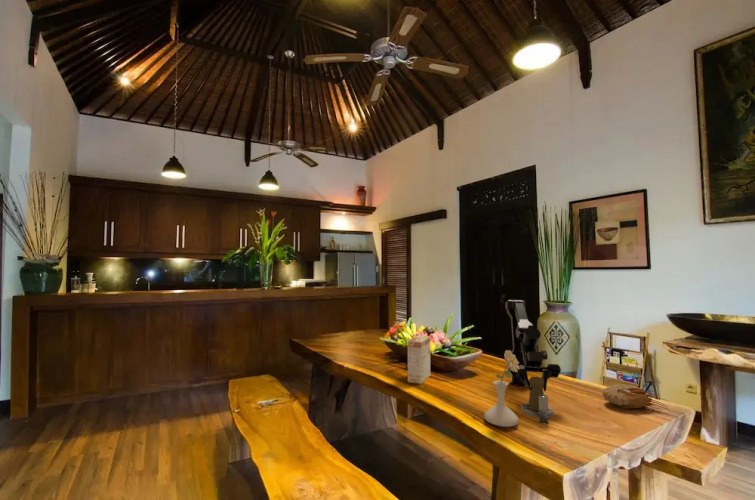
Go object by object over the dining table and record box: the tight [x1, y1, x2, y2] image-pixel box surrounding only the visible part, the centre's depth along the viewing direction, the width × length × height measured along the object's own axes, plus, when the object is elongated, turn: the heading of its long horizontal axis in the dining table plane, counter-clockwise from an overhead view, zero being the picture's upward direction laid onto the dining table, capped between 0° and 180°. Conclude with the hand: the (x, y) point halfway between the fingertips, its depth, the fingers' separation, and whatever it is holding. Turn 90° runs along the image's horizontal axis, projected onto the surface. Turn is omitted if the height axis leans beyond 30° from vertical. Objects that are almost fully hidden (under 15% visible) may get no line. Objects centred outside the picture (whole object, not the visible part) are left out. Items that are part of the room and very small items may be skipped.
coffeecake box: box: [407, 334, 431, 385], centre depth 176 cm, size 15×7×20 cm, turn 154°
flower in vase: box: [483, 349, 520, 428], centre depth 127 cm, size 13×11×25 cm
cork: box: [528, 376, 545, 411], centre depth 137 cm, size 6×6×11 cm
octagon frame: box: [520, 394, 554, 425], centre depth 134 cm, size 16×10×9 cm, turn 170°
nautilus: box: [601, 383, 670, 414], centre depth 141 cm, size 8×22×15 cm
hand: (537, 390), depth 135 cm, fingers closed on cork, 5 cm apart
